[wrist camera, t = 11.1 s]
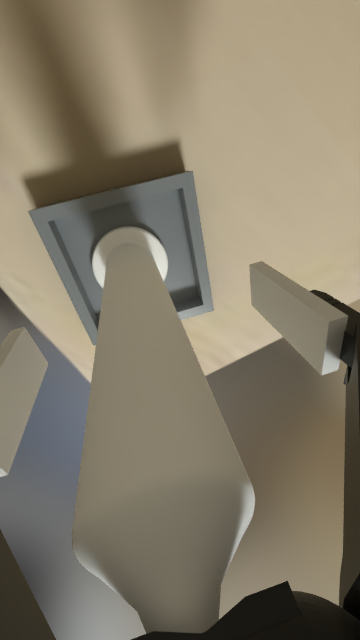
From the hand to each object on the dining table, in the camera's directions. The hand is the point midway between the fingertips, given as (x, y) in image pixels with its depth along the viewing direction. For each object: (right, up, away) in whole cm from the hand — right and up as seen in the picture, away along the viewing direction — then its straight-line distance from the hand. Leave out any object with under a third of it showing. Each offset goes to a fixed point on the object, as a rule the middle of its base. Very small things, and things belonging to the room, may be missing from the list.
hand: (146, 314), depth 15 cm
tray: (-3, +5, +10) cm, 12 cm away
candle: (-3, +5, +10) cm, 12 cm away
